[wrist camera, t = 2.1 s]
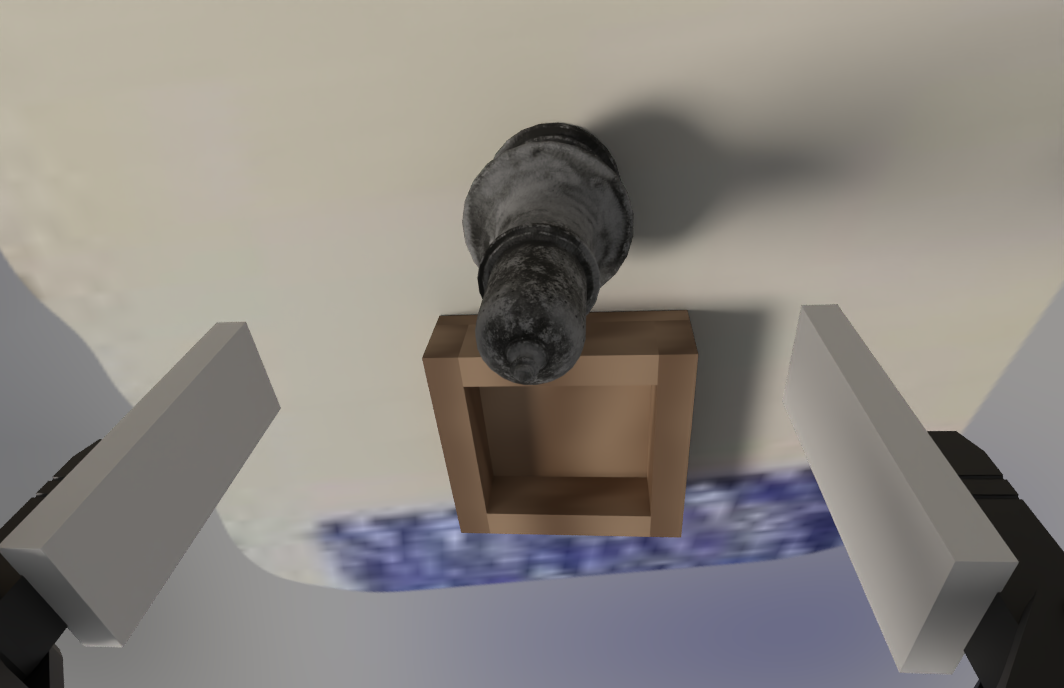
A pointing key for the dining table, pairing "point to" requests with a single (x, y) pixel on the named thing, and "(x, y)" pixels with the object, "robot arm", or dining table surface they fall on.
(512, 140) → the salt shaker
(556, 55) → the dining table surface
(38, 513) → the robot arm
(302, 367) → the dining table surface
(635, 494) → the walnut holder
